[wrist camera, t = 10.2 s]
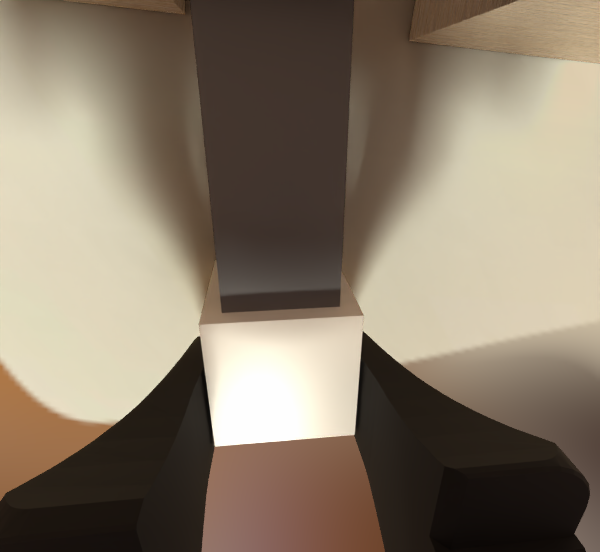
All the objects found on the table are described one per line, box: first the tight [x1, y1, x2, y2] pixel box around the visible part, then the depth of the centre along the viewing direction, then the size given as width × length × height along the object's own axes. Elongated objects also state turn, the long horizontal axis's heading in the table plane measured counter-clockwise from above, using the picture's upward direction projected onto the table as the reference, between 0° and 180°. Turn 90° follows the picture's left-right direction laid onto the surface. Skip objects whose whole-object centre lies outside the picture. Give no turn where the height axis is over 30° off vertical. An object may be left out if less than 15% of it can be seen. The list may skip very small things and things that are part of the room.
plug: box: [190, 0, 364, 446], centre depth 10 cm, size 4×12×4 cm, turn 0°
